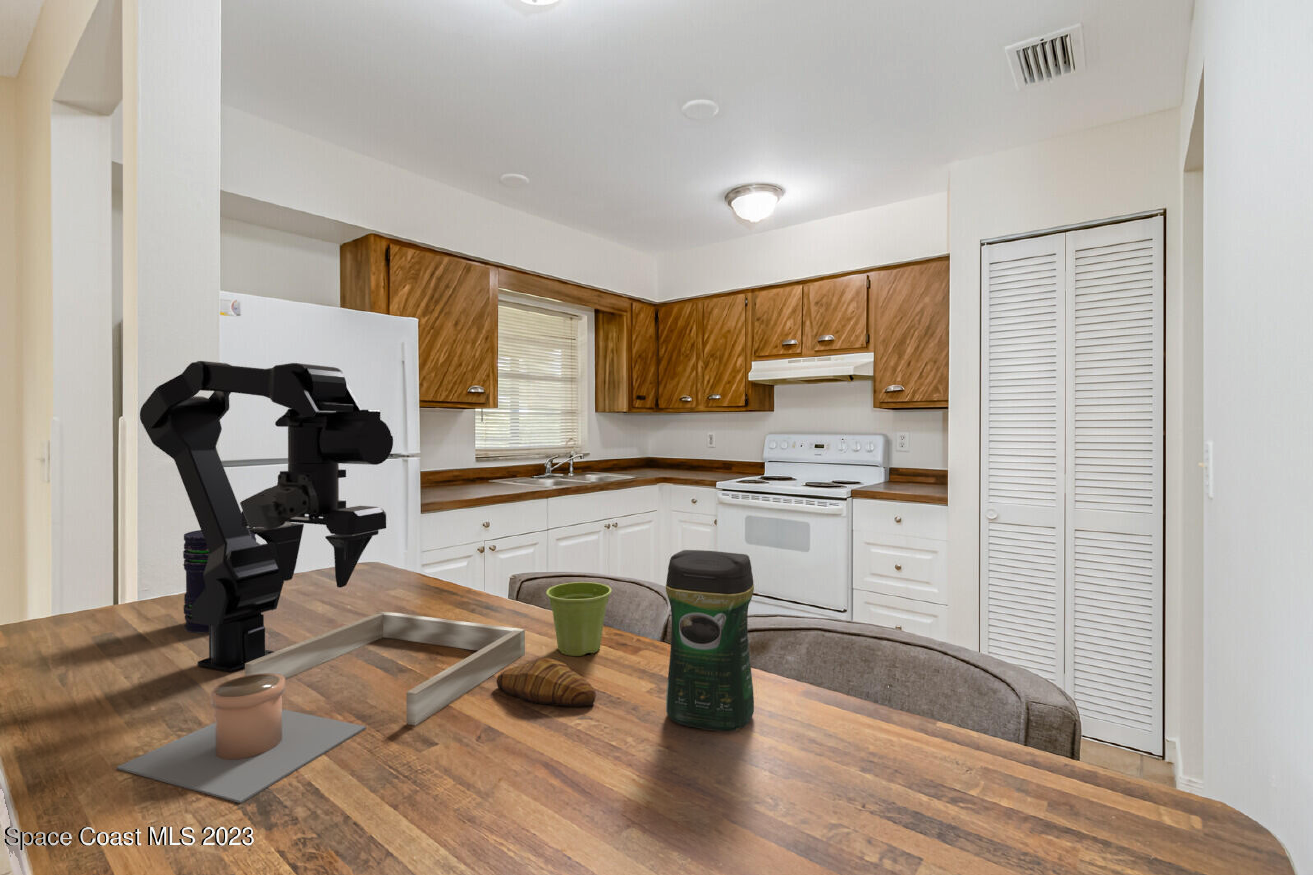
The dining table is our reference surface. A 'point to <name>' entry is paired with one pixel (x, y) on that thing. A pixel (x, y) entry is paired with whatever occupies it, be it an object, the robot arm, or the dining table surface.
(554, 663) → the croissant
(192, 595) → the storage jar
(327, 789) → the dining table surface
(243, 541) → the robot arm
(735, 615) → the coffee jar
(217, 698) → the pot
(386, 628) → the metal u frame
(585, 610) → the plant pot
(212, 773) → the grey mat
